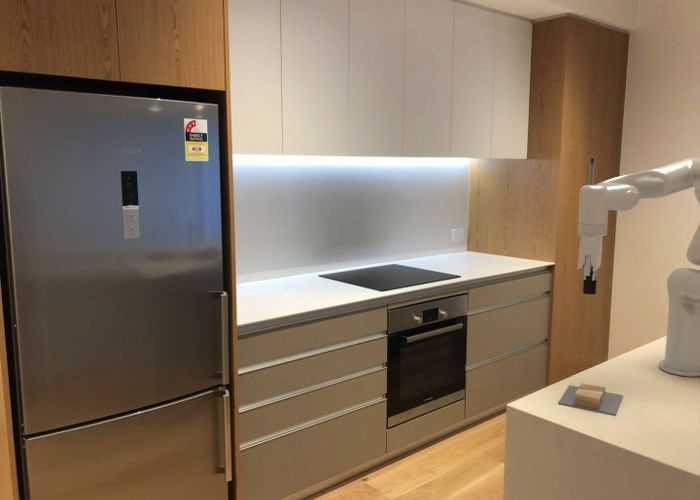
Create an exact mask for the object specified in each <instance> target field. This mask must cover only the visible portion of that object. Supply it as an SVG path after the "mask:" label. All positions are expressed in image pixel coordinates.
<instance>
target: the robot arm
mask: <svg viewBox="0 0 700 500" xmlns="http://www.w3.org/2000/svg"><path fill="white" fill-rule="evenodd" d="M691 188H694V195H695V198H696V200H697V202H698V205H699V206H700V157H687V158H684V159H680V160H678V161H675V162H671V163H668V164H666V165H663V166H659V167H656V168H651V169H648V170H642V171H638V172H635V173H629V174H625V175H621V176H617V177H613V178H610V179H607V180H604V181H601V182H599V183H597V184H586V185H583V186H582V187H580V189H579V197H578V198H579V199H578V200H579V201H578V203H579V204H578V224H577V226H578V227H577V235H579V236H580V241H579V248H578V259H577V270H578V271H581V270H582V269H583V284H582V286H583V288H582V293H583V294H585V295H595V294H596V293H597V273H598V272H597V271H598V269H599V268H601V264H602V254H603V237H605V236H607V235H608V223H609V222H608V219H609V217H608V216H609V211H618V212H627V211H630V210H632V209H634V208H635V207H636V206H637V205H638V204H639V203H640V199H643V200H644V199H645V200H647V199H648V200H649V199H659V198H665V197H668V196H671V195H673V194H676V193H679V192H682V191H686V190H688V189H691ZM686 259H687V261H688V262H689V263H691V264H692V265H694V266H697V267H700V221H699V222H698V226H697V228H696V230H695V232H694V234H693V236H692V238H691V240H690V243H689V245H688V248H687V250H686ZM666 289H667V296H668V314H667V315H668V316H667V327H666V337H665V338H666V339H665V351H664V359H663V360H660V361H658V368H659V369H660V370H662V371H664V372H666V373H668V374H671V375H677V376H679V377H680V376H682V377H691V378H693V377H694V378H695V377H700V269H696V268H690V267H680V268H679V267H678V268H676V269H674V270H673V271H672V272H671V273H670V274H669V275H668V277H667V280H666Z"/></svg>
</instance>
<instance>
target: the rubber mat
mask: <svg viewBox="0 0 700 500" xmlns="http://www.w3.org/2000/svg"><path fill="white" fill-rule="evenodd" d="M578 388H579V386H575V385H571V384H570V385H568V386H567V389H565V392H564V393H563V394H562V396H561V398H560V399H559V401H558V402H557V403H558V405H563V406H565V407H572V408H577V409H581V410H587V411H591V412H596V413H600V414H606V415H611V416H617V413H618V410H619V408H620V406H621V403H622V401H623V398H624V394H619V393H612V392H608V391H605V398H604V400H603V402H602V404H601V406H600V408H599V410H598V409H594V408H589V407H584V406H579V405H574V403H575V393H576V391H577V390H578Z"/></svg>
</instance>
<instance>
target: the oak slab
mask: <svg viewBox="0 0 700 500" xmlns="http://www.w3.org/2000/svg"><path fill="white" fill-rule="evenodd" d="M578 387H579V388H578V390H577V391H576V393H575V403H574V405H579V406H584V407H589V408H594V409H598V410H599V408H600V406H601V404H602V402H603V400H604V398H605V392H606V387H605V386H601V385H595V384H591V383H590V384H589V383H584V382H581V383H580V385H578Z"/></svg>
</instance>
